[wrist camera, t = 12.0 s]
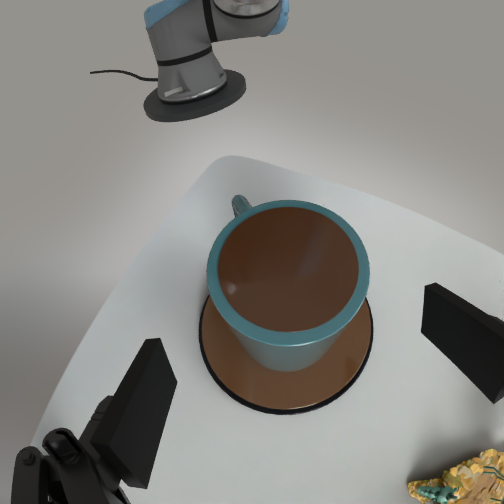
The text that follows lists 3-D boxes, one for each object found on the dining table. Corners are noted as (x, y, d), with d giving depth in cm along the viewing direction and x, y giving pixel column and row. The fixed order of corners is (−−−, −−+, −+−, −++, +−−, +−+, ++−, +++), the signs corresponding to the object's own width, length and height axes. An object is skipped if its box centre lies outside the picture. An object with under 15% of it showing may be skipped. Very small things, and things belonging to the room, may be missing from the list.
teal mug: (397, 352, 20) (469, 307, 11) (246, 437, 18) (213, 465, 9) (314, 229, 27) (324, 139, 18) (181, 291, 25) (127, 220, 16)
